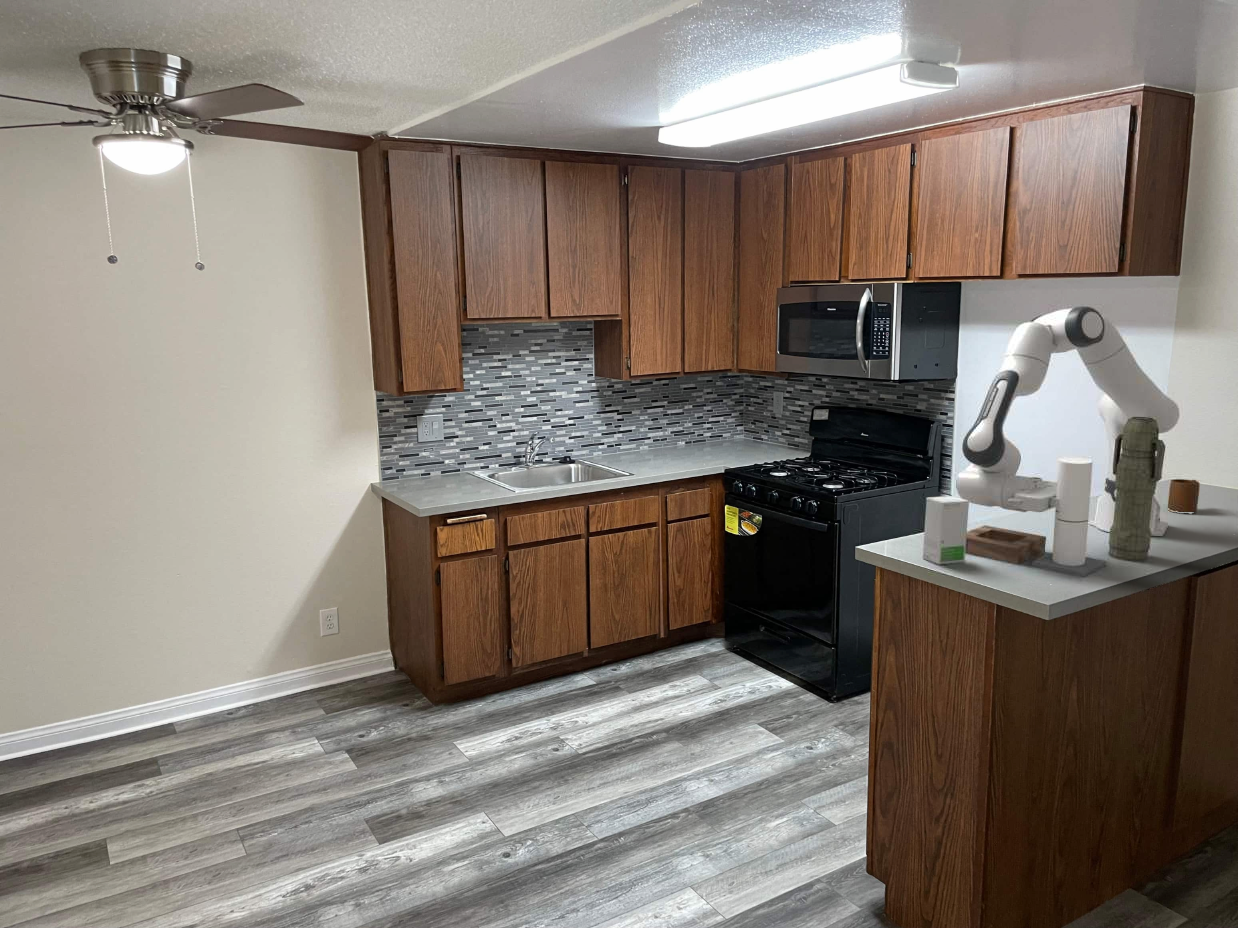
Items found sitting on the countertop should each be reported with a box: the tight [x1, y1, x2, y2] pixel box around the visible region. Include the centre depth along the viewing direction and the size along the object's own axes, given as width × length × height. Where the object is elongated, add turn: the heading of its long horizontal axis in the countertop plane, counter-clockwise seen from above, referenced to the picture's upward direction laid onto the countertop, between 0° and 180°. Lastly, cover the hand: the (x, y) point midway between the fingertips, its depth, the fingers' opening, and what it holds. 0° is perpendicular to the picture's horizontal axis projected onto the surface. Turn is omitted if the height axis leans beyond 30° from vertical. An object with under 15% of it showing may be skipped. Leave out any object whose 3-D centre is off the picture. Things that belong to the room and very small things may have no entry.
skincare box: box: [922, 495, 970, 565], centre depth 222 cm, size 8×7×16 cm
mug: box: [1167, 478, 1200, 513], centre depth 275 cm, size 12×8×9 cm, turn 126°
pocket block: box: [965, 525, 1047, 565], centre depth 231 cm, size 16×16×4 cm
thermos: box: [1107, 417, 1166, 562], centre depth 224 cm, size 9×12×35 cm
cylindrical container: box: [1052, 456, 1093, 566], centre depth 216 cm, size 7×7×25 cm
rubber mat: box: [1031, 552, 1107, 578], centre depth 219 cm, size 14×12×1 cm
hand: (1079, 502), depth 215 cm, fingers closed on cylindrical container, 4 cm apart
